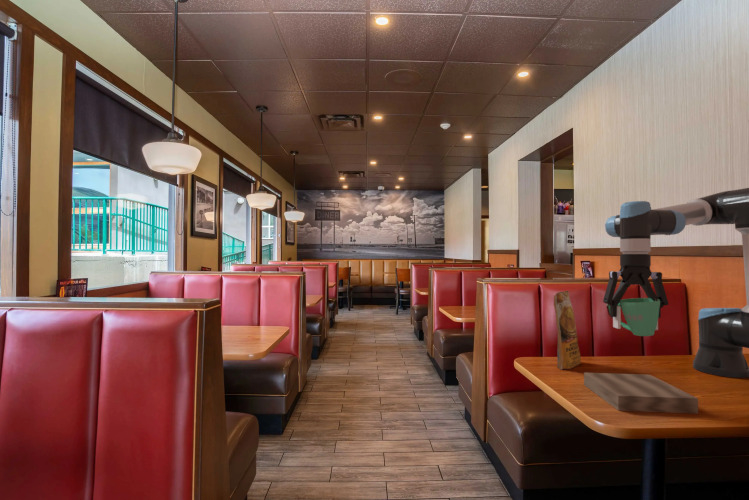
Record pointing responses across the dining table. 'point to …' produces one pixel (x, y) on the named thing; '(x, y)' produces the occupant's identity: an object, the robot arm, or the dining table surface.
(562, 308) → the pancake mix bag
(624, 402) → the plinth
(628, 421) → the dining table surface
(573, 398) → the dining table surface
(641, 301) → the mug
